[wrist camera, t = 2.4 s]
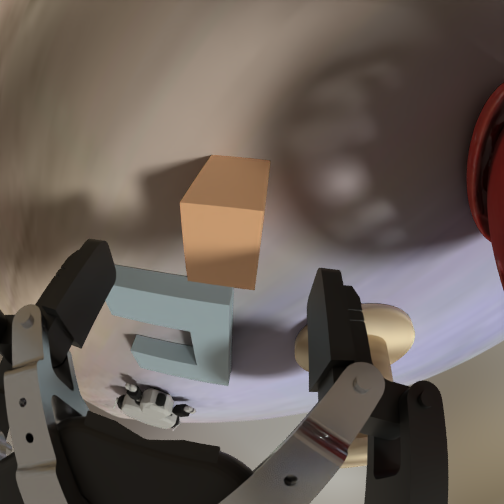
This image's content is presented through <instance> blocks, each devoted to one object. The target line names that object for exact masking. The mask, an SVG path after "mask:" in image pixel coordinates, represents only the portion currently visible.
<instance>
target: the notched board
mask: <svg viewBox="0 0 504 504" xmlns="http://www.w3.org/2000/svg"><path fill="white" fill-rule="evenodd" d="M115 268H116V281H115V284H114V286H113V287H112V289H111V291H110V293H109V295H108V297H107V298H106V300H105V301H106V303H107V305H108V307H109V309H110V311H111V314H112V315H115V316H119V317H123V318H127V319H132V320H136V321H140V322H145V323H149V324H154V325H158V326H163V327H168V328H173V329H178V330H184V331H189V332H190V333H191V338H192V344H193V347H192V346H187V345H182V344H177V343H172V342H167V341H163V340H158V339H154V338H149V337H145V336H141V335H136V338H135V340H134V343H133V345H132V348H131V352H132V354H133V356H134V357H135V359H136V361H137V363H138V364H139V366H140V368H144V369H148V370H152V371H156V372H160V373H164V374H168V375H173V376H177V377H182V378H186V379H191V380H196V381H202V382H207V383H213V384H219V385H225V386H228V385H229V379H230V373H231V354H232V323H233V296H234V287H226V286H219V285H212V284H205V283H198V282H192V281H188V279H187V276H180V275H174V274H167V273H161V272H155V271H149V270H143V269H137V268H131V267H125V266H119V265H115Z"/></svg>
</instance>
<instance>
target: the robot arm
mask: <svg viewBox="0 0 504 504" xmlns="http://www.w3.org/2000/svg"><path fill="white" fill-rule="evenodd" d="M115 281H116V268H115V265H114V262H113V259H112V256H111V252H110V249H109V246H108V243H107V242H106V241H102V240H95V239H88V240H87V241H86V242H85V243H84V244H83V246H82V247H81V248H80V250H77V251H76V252H75V253H73V254H72V255H71V256H69V257H68V258H67V260H66V261H65V262H64V264H63V265H62V266H61V269H59V270H58V272H57V273H56V276H54V278H53V279H52V280H51V282H50V283H49V285H48V286H47V288H46V289H45V291H44V292H43V294H42V295H41V297H40V298H39V300H38V301H37V303H36V304H35V305H33V304H30V305H26V306H24V307H22V308H21V309H20V310H19V311H18V312H17V313H16V314H15V315H4V314H3V313H2V311H1V310H0V354H1V355H2V356H3V358H2V361H1V363H0V504H309V503H310V502H311V501H312V500H313V499H314V498H315V497H316V496H317V495H318V493H319V492H320V491H321V490H322V489H323V488H324V486H325V485H326V484H327V483H328V482H329V481H330V479H331V478H332V477H333V476H334V474H335V473H336V472H337V471H338V469H339V468H340V467H341V466H342V464H343V463H344V461H345V459H346V458H347V455H348V448H349V446H350V445H351V443H352V442H353V441H354V439H355V438H356V436H357V435H358V433H362V434H365V435H368V447H367V477H366V491H365V503H364V504H448V451H447V437H446V427H445V419H444V410H443V403H442V397H441V394H440V391H439V390H438V388H437V387H436V386H435V385H434V384H432V383H431V382H428V381H418V382H416V383H414V384H413V385H412V386H411V387H409V386H406V385H402V384H399V383H395V382H392V381H389V380H387V379H385V378H384V377H383V375H382V374H381V372H380V371H379V370H378V369H377V368H376V367H375V366H374V365H373V363H372V358H371V352H370V347H369V341H368V336H367V330H366V325H365V323H364V315H363V312H362V306H361V302H360V297H359V296H358V294H357V293H356V291H355V290H354V289H353V287H352V286H346V285H343V281H342V276H341V272H340V270H334V269H325V268H319V269H318V270H317V273H316V276H315V279H314V283H313V286H312V289H311V292H310V295H309V298H308V303H307V327H308V356H309V392H318V402H317V404H316V405H315V406H314V407H313V409H312V410H311V411H310V412H309V413H308V414H307V416H306V417H305V418H304V419H303V420H302V421H301V423H300V424H299V425H298V426H297V427H296V428H295V429H294V430H293V431H292V432H291V434H290V435H289V436H288V437H287V438H286V439H285V440H284V441H283V442H282V443H281V444H280V445H279V446H278V447H277V448H276V449H275V450H274V451H273V452H272V453H271V454H270V455H269V456H268V457H267V458H266V459H265V460H264V461H263V462H262V463H261V464H260V465H259V466H258V467H257V468H255V469H254V470H253V471H252V470H251V469H250V468H249V467H247V466H246V465H245V464H243V463H242V462H241V461H239V460H238V459H236V458H234V457H232V456H231V455H229V454H226V453H223V452H221V451H220V447H218V446H212V445H206V444H200V443H195V442H190V441H185V440H147V439H144V438H142V437H140V436H139V435H137V434H135V433H134V432H132V431H131V430H129V429H127V428H126V427H124V426H122V425H121V424H119V423H118V422H116V421H114V420H111V419H109V418H106V417H103V416H101V415H98V414H96V413H93V412H91V411H89V409H88V407H87V405H86V403H85V402H84V400H83V399H82V397H81V395H80V392H79V388H78V384H77V379H76V375H75V370H74V366H73V361H72V355H71V352H70V351H69V349H70V347H71V345H73V346H76V347H79V348H82V346H83V344H84V342H85V340H86V338H87V336H88V334H89V332H90V329H91V327H92V325H93V323H94V321H95V319H96V318H97V316H98V314H99V312H100V310H101V308H102V306H103V304H104V302H105V300H106V298H107V297H108V295H109V293H110V291H111V289H112V287H113V286H114V284H115ZM9 428H10V433H11V438H12V443H13V447H14V452H13V453H11V452H12V447H11V445H10V443H9V442H6V438H7V434H8V430H9ZM6 454H7V455H8V456H6Z"/></svg>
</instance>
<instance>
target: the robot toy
mask: <svg viewBox="0 0 504 504" xmlns="http://www.w3.org/2000/svg"><path fill="white" fill-rule="evenodd" d="M125 386H126V389H127V395H122V396H120V397H119V398H116V403H117V404H118V407H119V408H120V409H121V412H123V413H124V414H125V415H127V416H129V417H131V418H133V419H136V420H138V421H140V422H143V423H146V424H149V425H152V426H155V427H159V428H165V429H169V428H173V427H174V428H173V431H174V430H175V428H176V427H177V426H178V425H180V421H179V417H185V416H189V414H190V413H191V414H193V413H195V412H196V409H194V408H192V407H190V406H188V405H186V404H180V405H176V406H175V407H174V408H173V404H174V401H173V399H172V397H171V396H170V395H168V394H166V393H164V392H162V391H159V390H156V389H153V388H150V389H147V390H145V391H144V392H143V396H142V395H141V390H140V389H139V387H138V386H136V385H130V384H128V383H127V384H126V385H125ZM116 403H115V405H114V409H115V406H116ZM172 408H173V409H172Z"/></svg>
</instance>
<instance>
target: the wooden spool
mask: <svg viewBox="0 0 504 504" xmlns="http://www.w3.org/2000/svg"><path fill="white" fill-rule="evenodd" d="M361 306H362V312H363V315H364V323H365V325H366V330H367V336H368V341H369V347H370V352H371V358H372V363H373V365H374V366H375V367H376V368H377V369H378V370H379V371H380V372H381V374H382V375H383V377H384V378H385V379H387V380H389V381H392V382H393V378H392V372H391V366H390V365H391V364H392V363H394V362H396V361H397V360H399V359H400V358H401V357H402V356H404V355H405V354H406V353H407V351H408V350H409V349H410V348H411V346H412V344H413V342H414V338H415V331H414V328H413V324H412V321H411V319H410V317H409V316H408V314H406V313H405V312H404V311H403V310H401V309H399V308H397V307H394V306H390V305H385V304H361ZM295 359H296V361H297V363H298V364H299V365H300V367H302V368H303V369H305V370H306V371H308V372H309V356H308V327H307V325H306V326H305V327H304V328H303V329H302V330H301V331H300V332H299V334H298V335H297V337H296V340H295ZM367 447H368V435H365V434H362V433H358V435H357V436H356V438H355V439H354V441H353V442H352V443H351V445H350V446H349V448H348V455H347V458H346V459H345V461H344V463H343V464H342V466H341V467H340V468H349V467H358V466H364V465H367Z"/></svg>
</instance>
